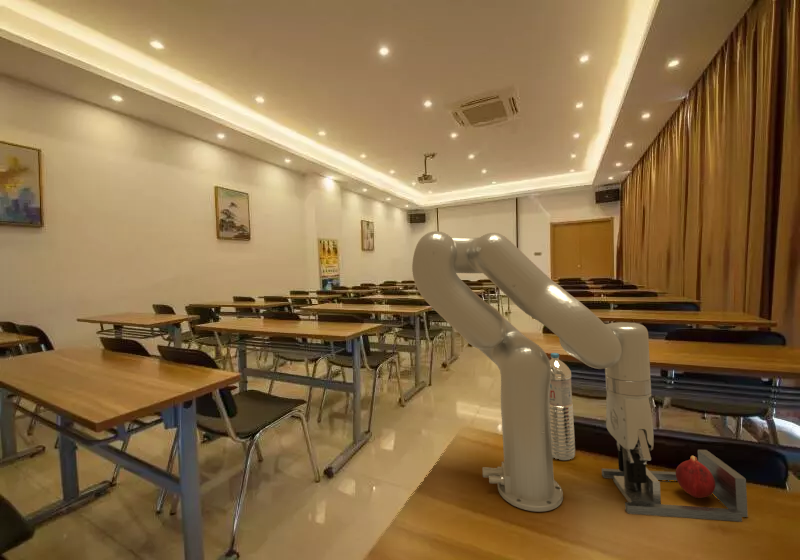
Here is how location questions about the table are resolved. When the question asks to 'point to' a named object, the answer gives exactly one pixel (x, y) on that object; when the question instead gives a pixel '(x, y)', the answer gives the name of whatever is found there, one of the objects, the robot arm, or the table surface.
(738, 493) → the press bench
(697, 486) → the pomegranate
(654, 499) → the carriage
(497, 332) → the robot arm
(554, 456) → the water bottle
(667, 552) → the table surface
